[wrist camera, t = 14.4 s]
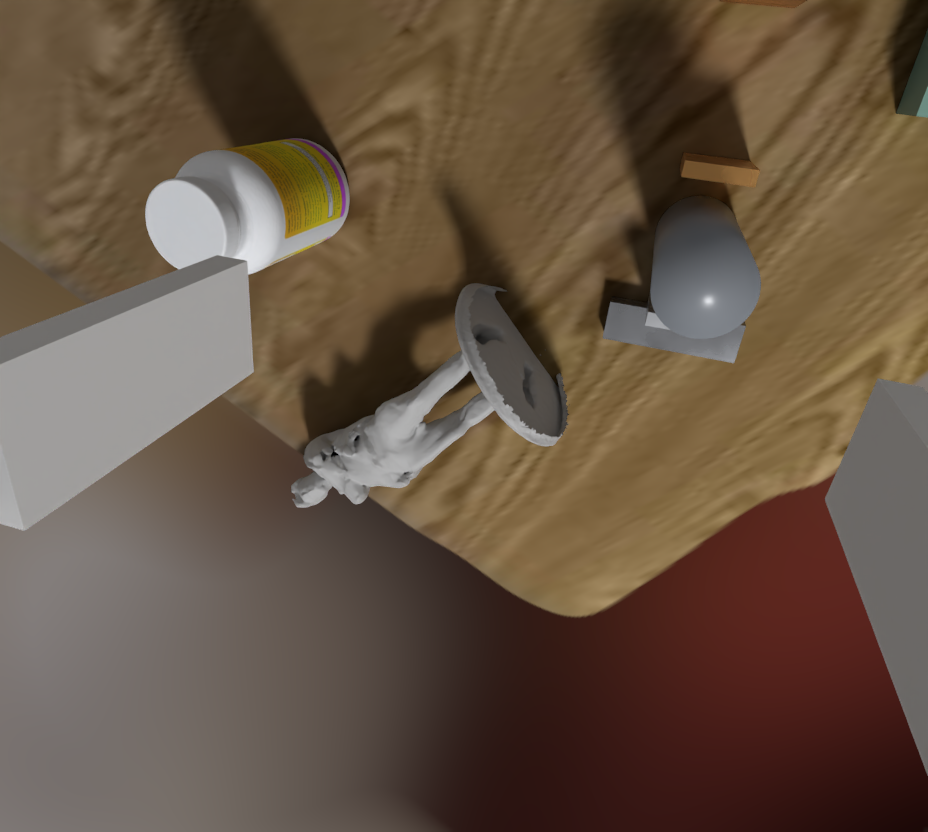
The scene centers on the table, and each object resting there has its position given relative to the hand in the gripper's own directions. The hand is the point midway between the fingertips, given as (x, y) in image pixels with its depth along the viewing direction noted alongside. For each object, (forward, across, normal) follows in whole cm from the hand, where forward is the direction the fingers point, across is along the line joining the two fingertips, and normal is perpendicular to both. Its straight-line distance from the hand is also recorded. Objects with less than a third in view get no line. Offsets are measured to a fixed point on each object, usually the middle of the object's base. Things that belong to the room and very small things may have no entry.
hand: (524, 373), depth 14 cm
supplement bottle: (+29, -20, -3) cm, 35 cm away
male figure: (+29, -12, -18) cm, 36 cm away
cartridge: (+29, +5, -2) cm, 29 cm away
